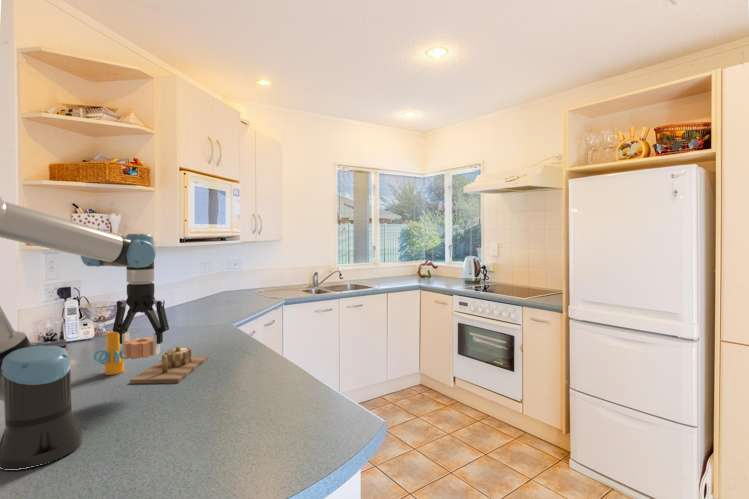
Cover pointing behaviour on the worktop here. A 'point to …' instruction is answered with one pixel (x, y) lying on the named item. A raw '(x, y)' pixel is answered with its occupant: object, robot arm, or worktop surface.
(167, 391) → the worktop surface
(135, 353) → the gear
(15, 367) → the robot arm
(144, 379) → the gear board
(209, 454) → the worktop surface
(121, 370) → the orange post with rings
